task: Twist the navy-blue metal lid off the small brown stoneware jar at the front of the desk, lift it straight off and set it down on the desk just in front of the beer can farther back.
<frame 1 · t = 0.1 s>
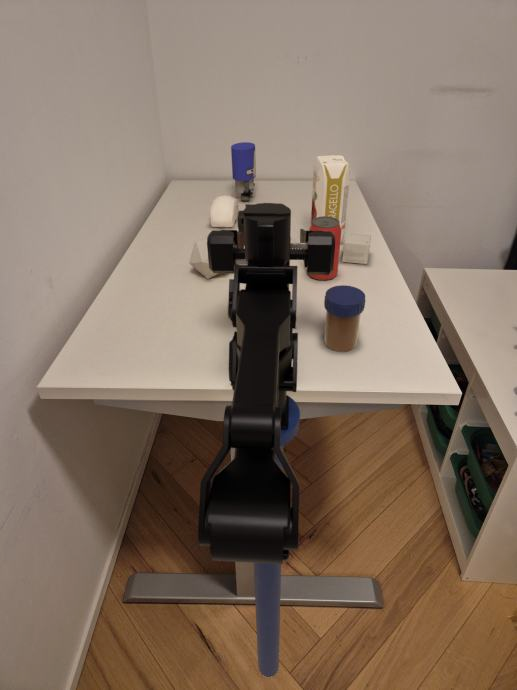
hand: (273, 231, 77), 18 cm above the table, tool horizontal, fingers open, 9 cm apart
juice carton: (326, 239, 117), on the table
jar: (340, 342, 81), on the table
beer can: (322, 275, 101), on the table
toy: (245, 199, 141), on the table
die: (212, 273, 103), on the table
small box: (355, 259, 107), on the table
lid: (345, 297, 76), point 9 cm above the table, screwed on, not yet turned
computer mouse: (225, 220, 128), on the table
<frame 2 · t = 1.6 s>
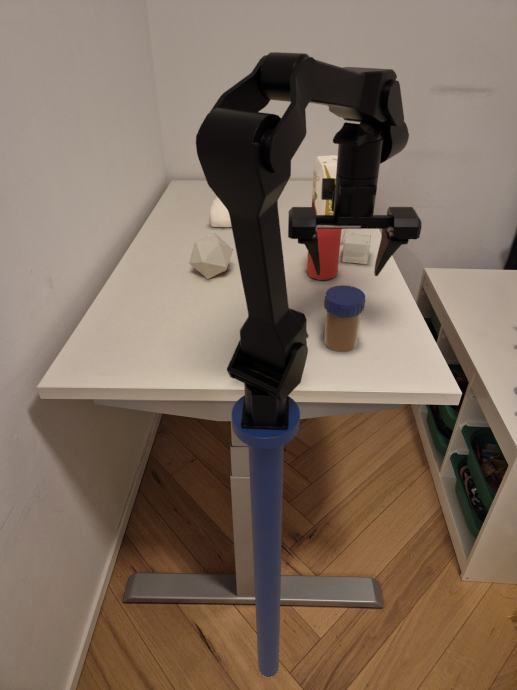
hand: (346, 274, 73), 13 cm above the table, tool pointing down, fingers open, 9 cm apart
nothing on the table moved.
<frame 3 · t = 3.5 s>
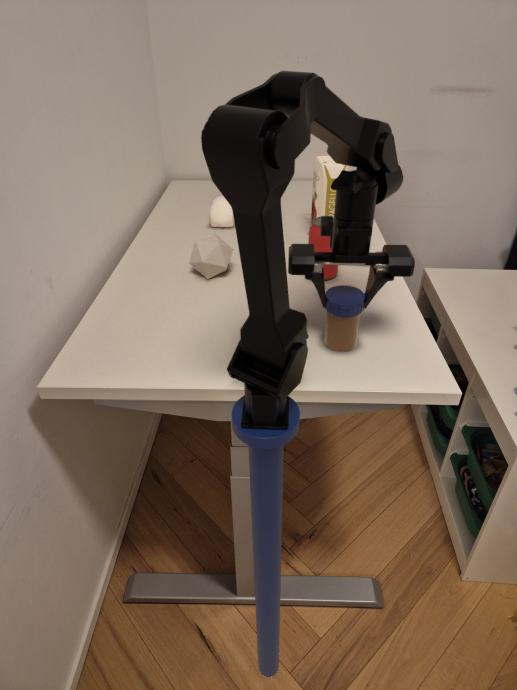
hand: (344, 306, 77), 7 cm above the table, tool pointing down, fingers closed on lid, 6 cm apart
lid: (345, 297, 76), point 9 cm above the table, screwed on, not yet turned, touching gripper
everything else where it was.
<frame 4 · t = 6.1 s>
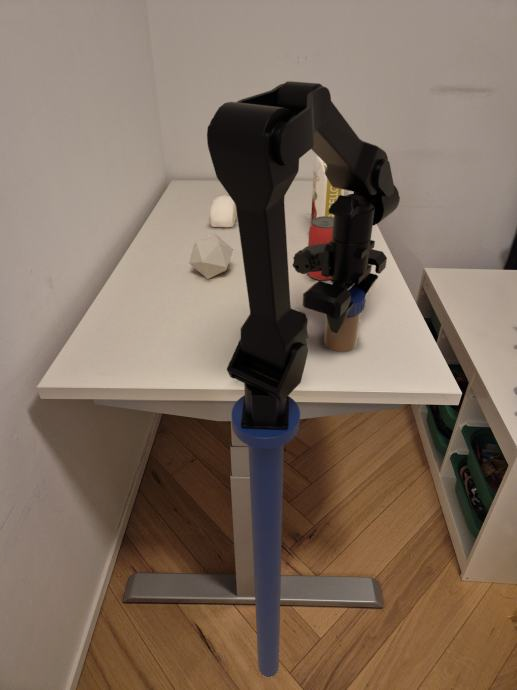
hand: (342, 323, 79), 4 cm above the table, tool pointing down, fingers closed on lid, 6 cm apart
jar: (340, 342, 81), on the table, touching gripper
lid: (345, 296, 76), point 9 cm above the table, turned 60° so far, risen 0.1 cm, still on its thread, touching gripper
everything else where it was.
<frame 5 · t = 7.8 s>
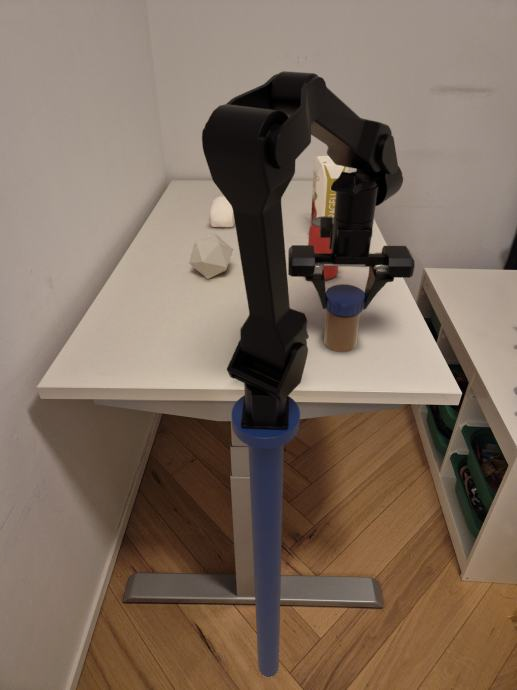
hand: (343, 307, 77), 7 cm above the table, tool pointing down, fingers closed on lid, 6 cm apart
jar: (340, 342, 81), on the table
lid: (345, 296, 76), point 9 cm above the table, turned 60° so far, risen 0.2 cm, still on its thread, touching gripper
everything else where it was.
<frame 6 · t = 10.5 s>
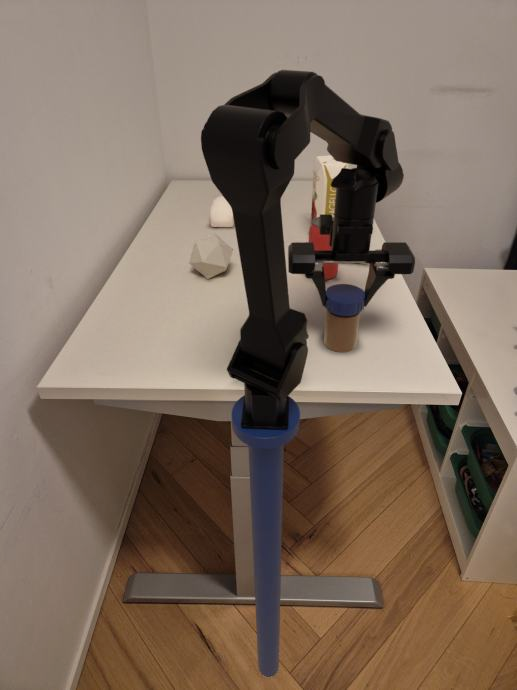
hand: (344, 305, 77), 8 cm above the table, tool pointing down, fingers closed on lid, 6 cm apart
lid: (345, 295, 75), point 9 cm above the table, turned 119° so far, risen 0.3 cm, still on its thread, touching gripper
everything else where it was.
when the fingers open (0 cm above the table, at t = 17.1 s): lid stays where it is, point 2 cm above the table.
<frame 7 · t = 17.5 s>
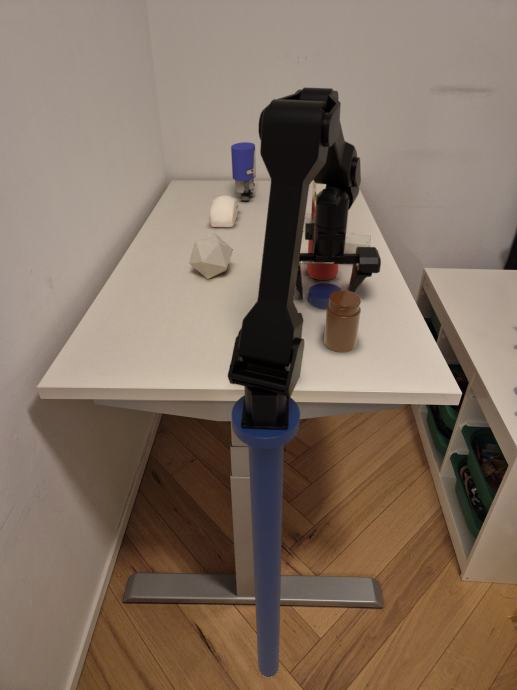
hand: (324, 298, 92), 0 cm above the table, tool pointing down, fingers open, 9 cm apart
lid: (325, 292, 91), point 2 cm above the table, off its thread
everything else where it was.
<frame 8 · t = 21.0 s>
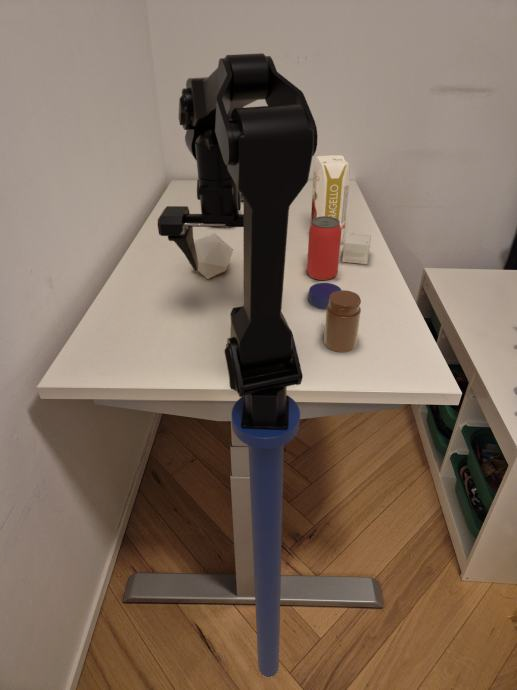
hand: (224, 270, 78), 12 cm above the table, tool pointing down, fingers open, 9 cm apart
nothing on the table moved.
at the end: lid came off its thread; the gripper is holding nothing; lid inside the target area on the table beside the beer can (0.1 cm from its centre), point 2.1 cm above the table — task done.
